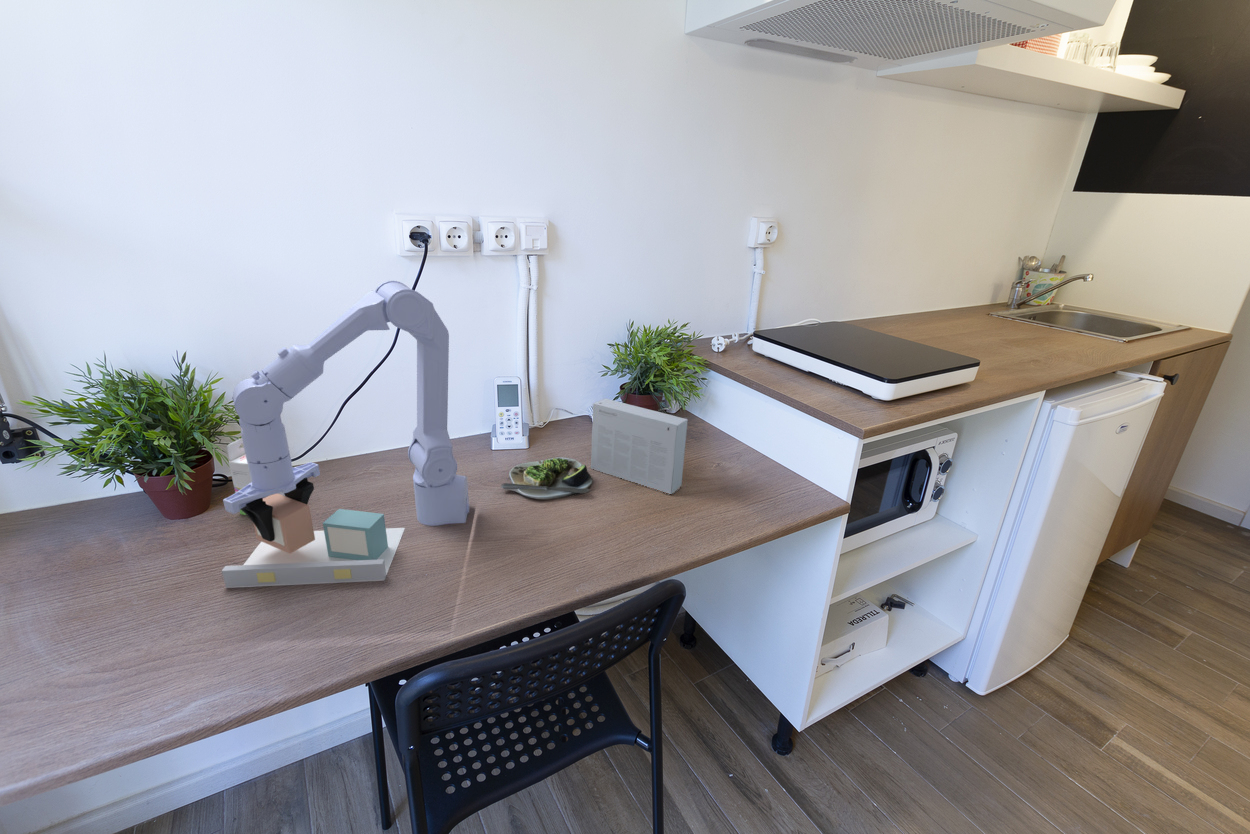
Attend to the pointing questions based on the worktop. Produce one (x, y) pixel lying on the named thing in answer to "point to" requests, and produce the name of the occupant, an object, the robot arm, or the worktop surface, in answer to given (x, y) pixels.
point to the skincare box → (638, 444)
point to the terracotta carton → (289, 523)
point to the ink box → (239, 467)
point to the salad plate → (550, 478)
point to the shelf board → (309, 565)
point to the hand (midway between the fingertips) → (283, 531)
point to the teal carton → (355, 535)
